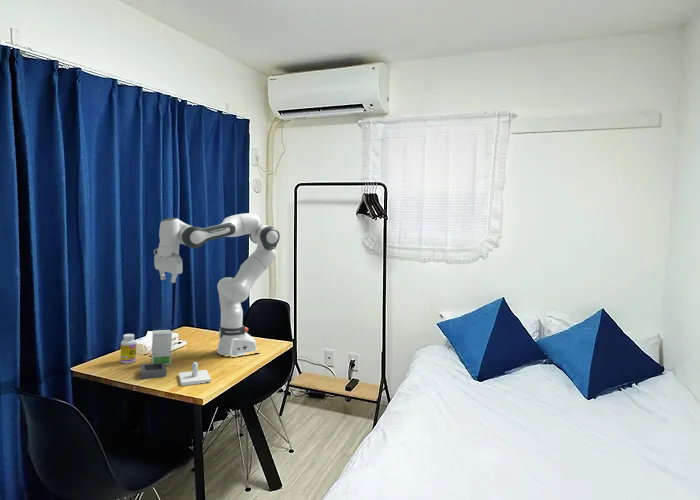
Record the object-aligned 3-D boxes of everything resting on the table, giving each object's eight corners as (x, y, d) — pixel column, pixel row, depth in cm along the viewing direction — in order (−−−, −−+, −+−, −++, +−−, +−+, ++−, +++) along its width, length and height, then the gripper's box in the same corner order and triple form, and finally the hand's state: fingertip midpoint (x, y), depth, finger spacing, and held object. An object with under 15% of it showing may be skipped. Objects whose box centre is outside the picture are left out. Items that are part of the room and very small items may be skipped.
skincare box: (151, 366, 204) (152, 333, 203) (151, 362, 210) (151, 330, 209) (171, 364, 208) (172, 332, 207) (169, 360, 214) (170, 328, 212)
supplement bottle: (129, 364, 205) (130, 337, 204) (117, 362, 206) (117, 336, 205) (139, 360, 211) (139, 334, 210) (127, 358, 213) (127, 332, 212)
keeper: (206, 372, 200) (207, 356, 199) (210, 382, 189) (211, 365, 189) (178, 375, 195) (178, 359, 194) (181, 385, 184) (181, 368, 183)
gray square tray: (164, 368, 202) (164, 362, 202) (166, 376, 193) (166, 369, 193) (140, 371, 198) (140, 364, 197) (141, 379, 189) (141, 372, 189)
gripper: (186, 254, 203) (185, 283, 204) (164, 249, 216) (163, 277, 217) (173, 254, 198) (172, 284, 199) (152, 250, 211) (151, 278, 212)
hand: (167, 281), depth 208 cm, fingers open, 8 cm apart
